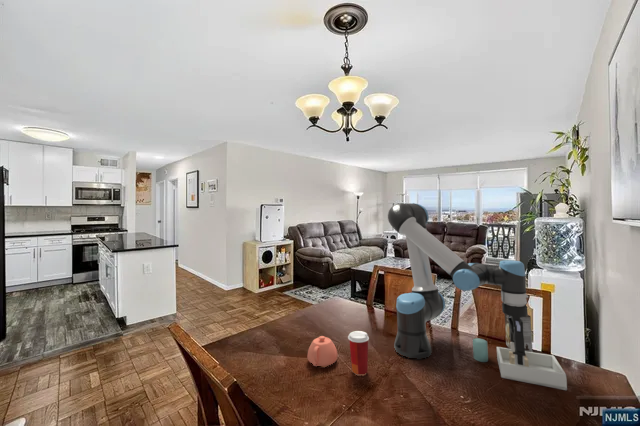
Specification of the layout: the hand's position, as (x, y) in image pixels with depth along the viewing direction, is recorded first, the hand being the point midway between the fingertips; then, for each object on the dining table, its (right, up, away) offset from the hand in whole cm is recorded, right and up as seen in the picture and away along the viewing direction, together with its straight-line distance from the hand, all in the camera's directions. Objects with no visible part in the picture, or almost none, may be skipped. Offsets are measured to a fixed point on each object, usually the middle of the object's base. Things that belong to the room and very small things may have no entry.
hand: (518, 366), depth 98 cm
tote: (+3, -2, -1) cm, 4 cm away
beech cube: (0, -1, 0) cm, 1 cm away
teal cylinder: (-8, -3, +10) cm, 13 cm away
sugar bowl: (-71, -5, +11) cm, 72 cm away
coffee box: (+12, -2, +15) cm, 19 cm away
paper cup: (-57, -4, +3) cm, 57 cm away
